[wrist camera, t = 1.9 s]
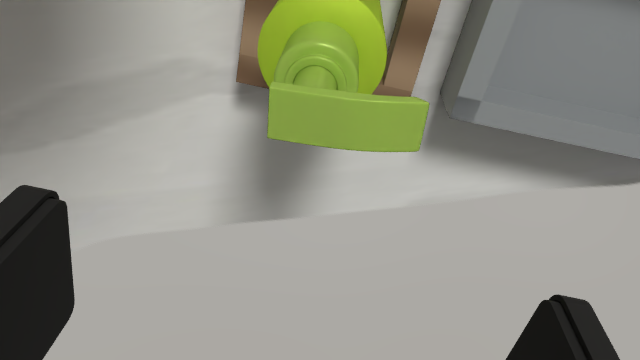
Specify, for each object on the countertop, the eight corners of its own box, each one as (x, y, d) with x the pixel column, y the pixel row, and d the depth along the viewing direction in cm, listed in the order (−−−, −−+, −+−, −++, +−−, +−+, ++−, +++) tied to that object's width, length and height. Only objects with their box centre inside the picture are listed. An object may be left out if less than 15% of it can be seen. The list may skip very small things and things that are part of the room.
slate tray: (516, -127, 29) (540, -127, 26) (818, -54, 30) (884, -44, 26) (440, 92, 37) (449, 118, 33) (684, 146, 38) (721, 176, 34)
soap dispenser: (386, 46, 35) (409, 206, 18) (288, 35, 35) (221, 184, 18) (400, -44, 32) (446, 47, 15) (294, -56, 32) (219, 21, 15)
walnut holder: (268, -135, 30) (261, -136, 28) (461, -90, 31) (468, -87, 28) (243, 69, 37) (236, 81, 35) (401, 104, 37) (403, 117, 35)
